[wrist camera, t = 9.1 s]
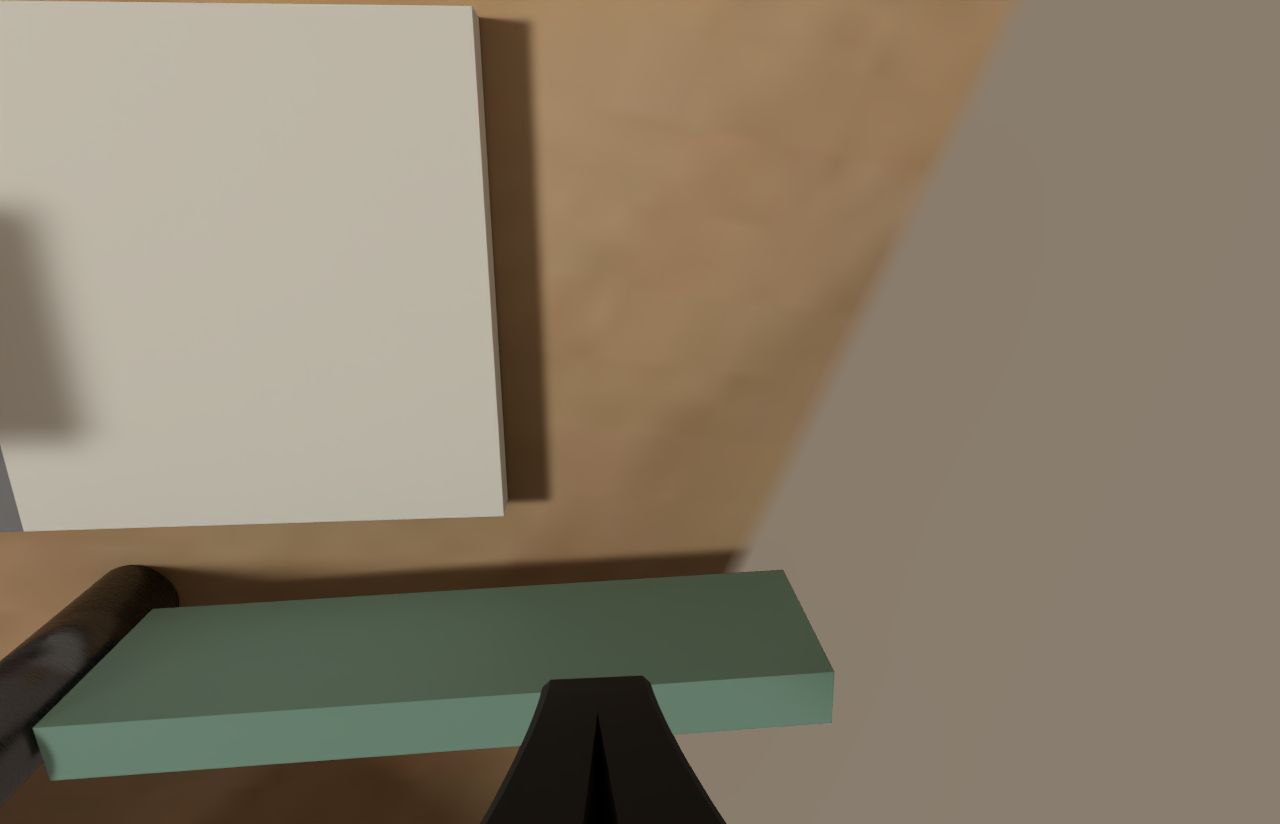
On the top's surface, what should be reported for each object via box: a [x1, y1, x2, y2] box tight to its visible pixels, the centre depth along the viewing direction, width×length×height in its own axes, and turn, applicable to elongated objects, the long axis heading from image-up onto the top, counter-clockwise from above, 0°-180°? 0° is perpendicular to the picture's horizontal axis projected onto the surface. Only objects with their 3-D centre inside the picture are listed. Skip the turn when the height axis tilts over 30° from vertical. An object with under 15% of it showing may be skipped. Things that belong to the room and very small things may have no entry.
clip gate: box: [33, 570, 834, 781], centre depth 16 cm, size 1×15×4 cm, turn 92°
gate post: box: [0, 566, 179, 807], centre depth 16 cm, size 2×2×6 cm
